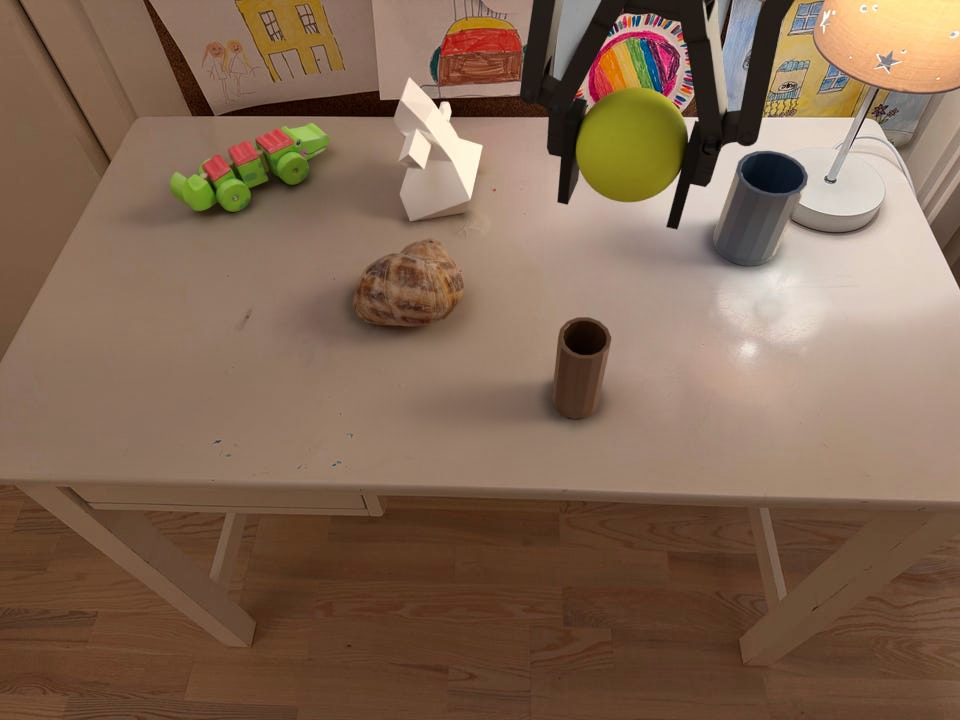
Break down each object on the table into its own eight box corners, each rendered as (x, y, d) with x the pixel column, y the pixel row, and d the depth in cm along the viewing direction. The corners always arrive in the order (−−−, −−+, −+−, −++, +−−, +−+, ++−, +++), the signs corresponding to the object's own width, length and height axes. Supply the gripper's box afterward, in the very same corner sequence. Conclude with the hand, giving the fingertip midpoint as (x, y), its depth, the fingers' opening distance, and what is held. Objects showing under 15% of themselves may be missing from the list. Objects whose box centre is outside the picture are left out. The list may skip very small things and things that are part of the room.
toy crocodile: (316, 138, 91) (305, 96, 86) (342, 164, 88) (332, 123, 83) (173, 202, 85) (153, 162, 80) (196, 233, 82) (176, 193, 77)
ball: (697, 206, 46) (722, 115, 40) (602, 237, 45) (614, 148, 39) (643, 144, 50) (660, 52, 44) (554, 171, 49) (560, 81, 43)
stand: (607, 408, 67) (621, 347, 59) (565, 426, 66) (574, 366, 58) (584, 374, 69) (595, 310, 61) (543, 390, 68) (549, 327, 60)
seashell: (415, 243, 79) (439, 211, 69) (460, 310, 79) (490, 287, 70) (337, 290, 75) (350, 262, 66) (384, 360, 75) (404, 342, 66)
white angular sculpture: (486, 155, 88) (483, 53, 77) (468, 233, 81) (463, 134, 69) (420, 150, 89) (408, 49, 78) (397, 227, 81) (380, 128, 70)
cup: (789, 253, 77) (822, 183, 69) (737, 274, 76) (765, 204, 68) (750, 214, 81) (778, 143, 73) (700, 233, 80) (723, 162, 71)
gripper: (947, -218, 30) (775, 198, 48) (502, -253, 34) (503, 141, 53) (949, -149, 26) (760, 275, 44) (445, -199, 30) (467, 206, 49)
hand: (621, 202), depth 48 cm, fingers closed on ball, 7 cm apart
